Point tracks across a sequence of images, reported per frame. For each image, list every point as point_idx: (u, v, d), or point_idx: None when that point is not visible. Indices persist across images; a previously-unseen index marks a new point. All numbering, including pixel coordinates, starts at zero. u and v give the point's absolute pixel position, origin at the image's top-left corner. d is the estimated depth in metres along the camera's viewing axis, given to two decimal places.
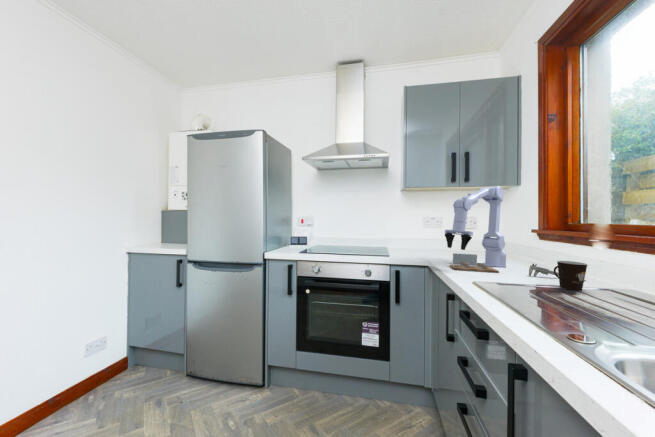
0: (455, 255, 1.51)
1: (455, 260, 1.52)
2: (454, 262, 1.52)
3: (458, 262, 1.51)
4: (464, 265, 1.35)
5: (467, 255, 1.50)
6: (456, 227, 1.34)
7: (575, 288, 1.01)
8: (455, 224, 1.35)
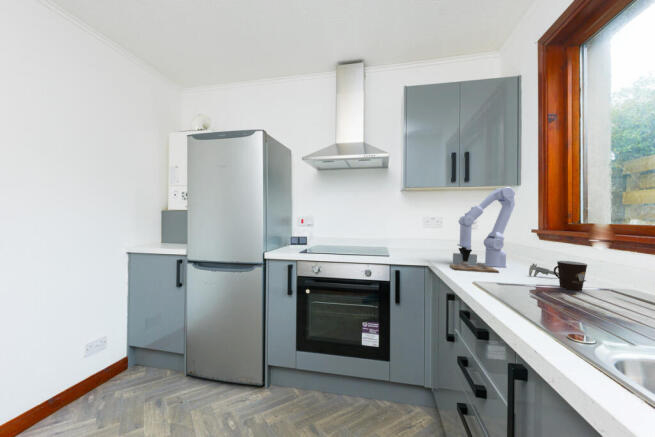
0: (455, 255, 1.51)
1: (455, 260, 1.51)
2: (454, 262, 1.52)
3: (458, 262, 1.51)
4: (464, 265, 1.35)
5: None
6: (460, 242, 1.51)
7: (575, 288, 1.01)
8: None
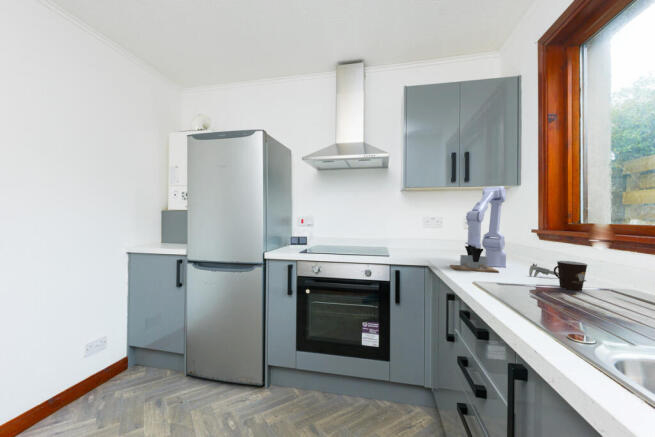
0: (463, 257, 1.37)
1: (463, 262, 1.37)
2: None
3: None
4: (464, 265, 1.35)
5: None
6: (468, 239, 1.37)
7: (575, 288, 1.01)
8: (468, 237, 1.37)
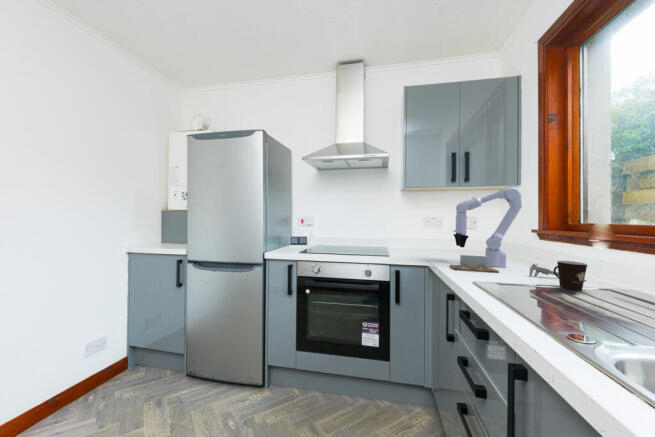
0: (463, 257, 1.37)
1: (463, 262, 1.37)
2: None
3: None
4: (464, 265, 1.35)
5: (476, 257, 1.35)
6: None
7: (575, 288, 1.01)
8: None
